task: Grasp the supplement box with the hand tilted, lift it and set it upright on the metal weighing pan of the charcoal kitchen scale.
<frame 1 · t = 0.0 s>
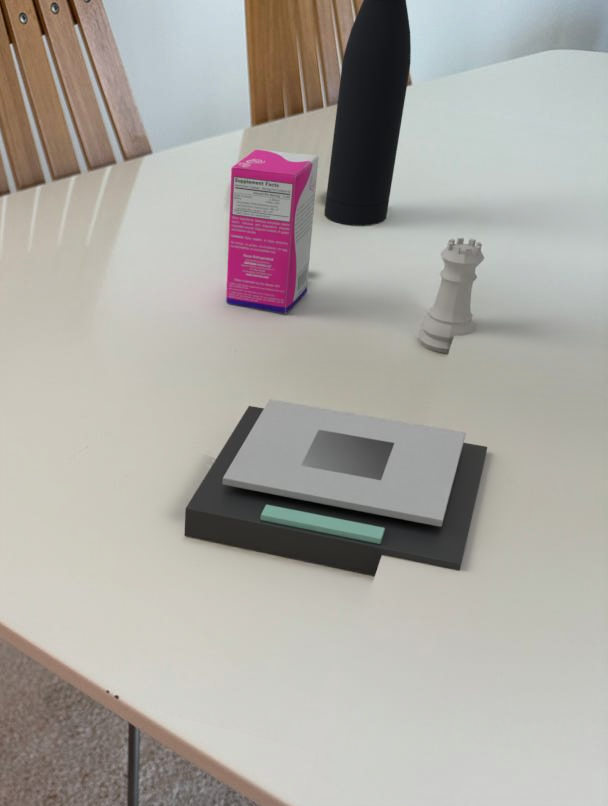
supplement box: (265, 300, 92), on the table
kitchen scale: (338, 503, 66), on the table
rook chess piece: (443, 345, 85), on the table
wine bottle: (354, 217, 109), on the table
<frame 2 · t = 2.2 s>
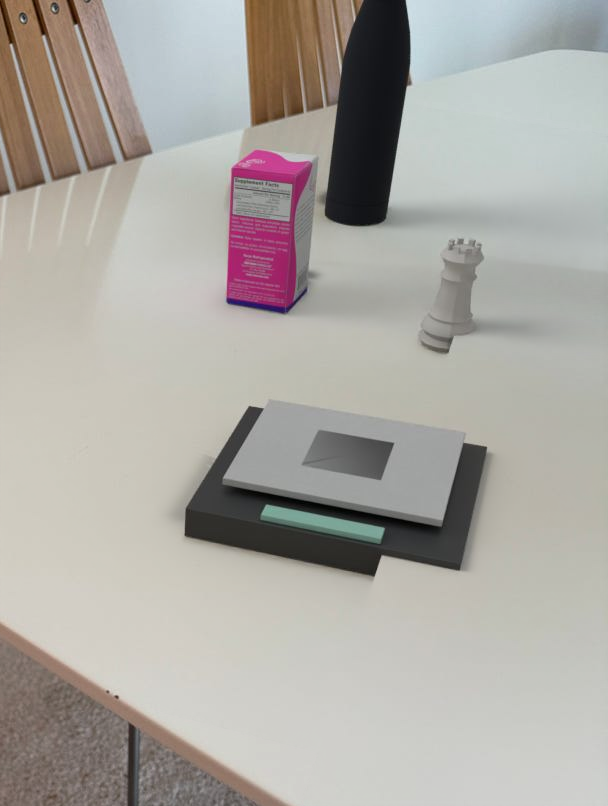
nothing on the table moved.
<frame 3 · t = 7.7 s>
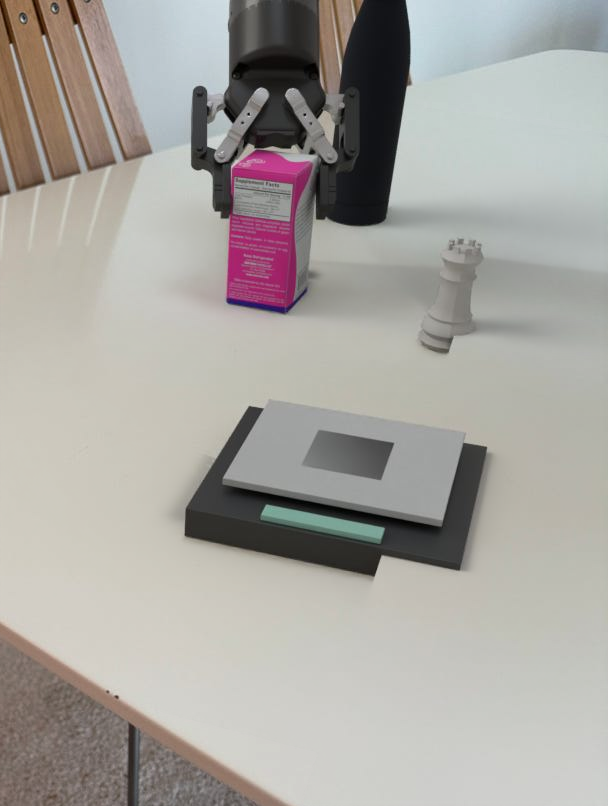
hand: (274, 214, 86), 8 cm above the table, tool tilted 45°, fingers closed on supplement box, 7 cm apart
supplement box: (265, 300, 92), on the table, touching gripper
everything else where it was.
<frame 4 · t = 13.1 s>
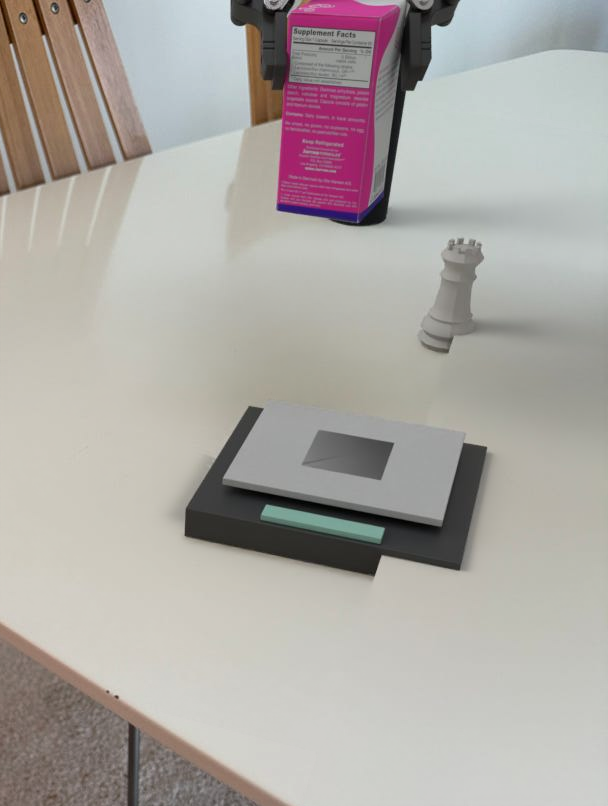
hand: (345, 82, 63), 21 cm above the table, tool tilted 45°, fingers closed on supplement box, 7 cm apart
supplement box: (328, 208, 69), point 13 cm above the table, touching gripper
everything else where it was.
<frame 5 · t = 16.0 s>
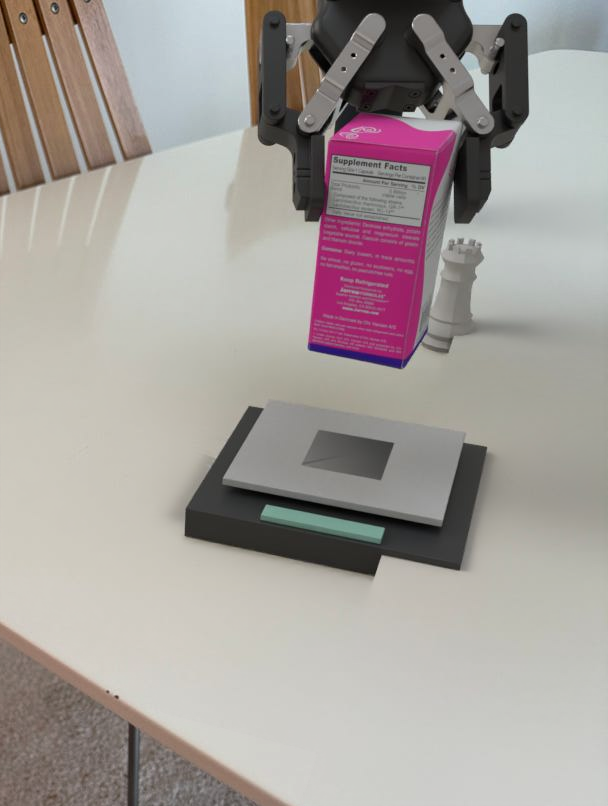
hand: (391, 215, 54), 18 cm above the table, tool tilted 45°, fingers closed on supplement box, 7 cm apart
supplement box: (365, 345, 60), point 10 cm above the table, touching gripper
everything else where it was.
when the fingers open (11 cm above the table, at t = 18.6 s): supplement box stays where it is, resting on kitchen scale.
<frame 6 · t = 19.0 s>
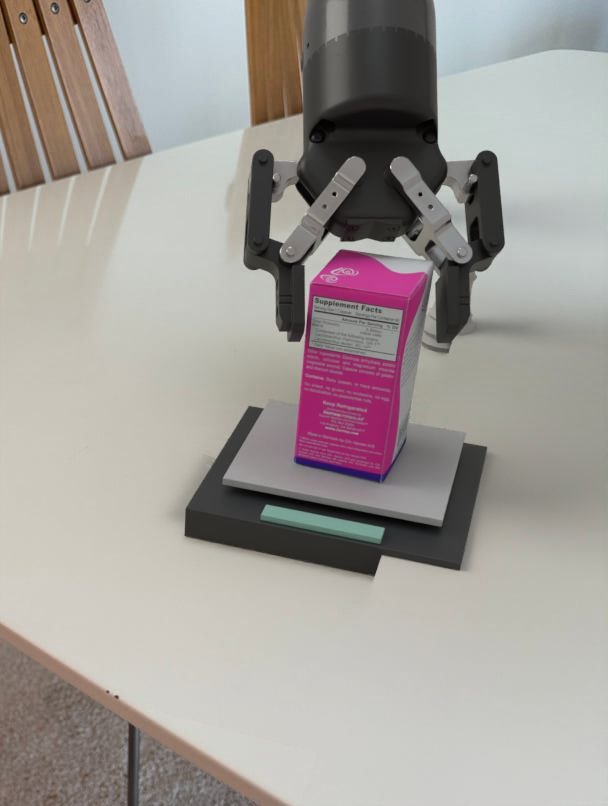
hand: (372, 337, 59), 11 cm above the table, tool tilted 45°, fingers open, 8 cm apart
supplement box: (348, 455, 65), point 3 cm above the table, touching kitchen scale
everything else where it was.
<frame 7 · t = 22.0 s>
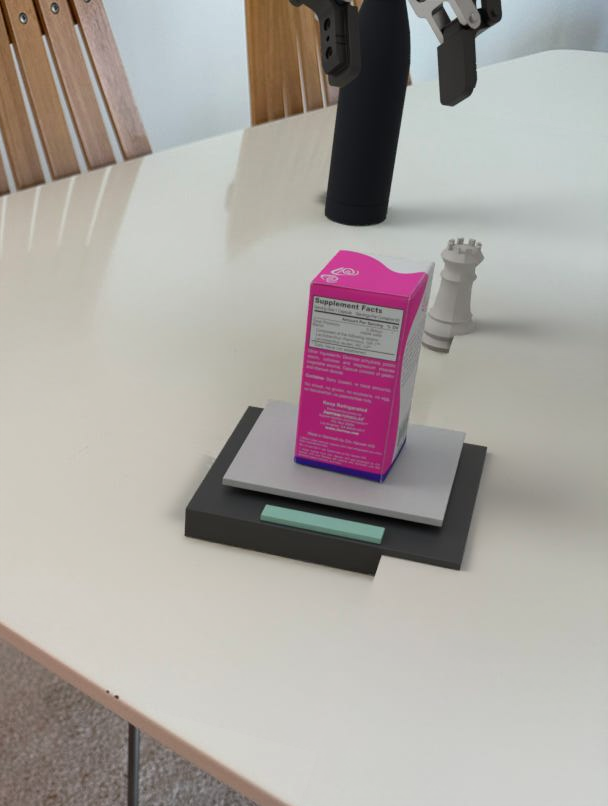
hand: (403, 91, 62), 21 cm above the table, tool tilted 35°, fingers open, 8 cm apart
nothing on the table moved.
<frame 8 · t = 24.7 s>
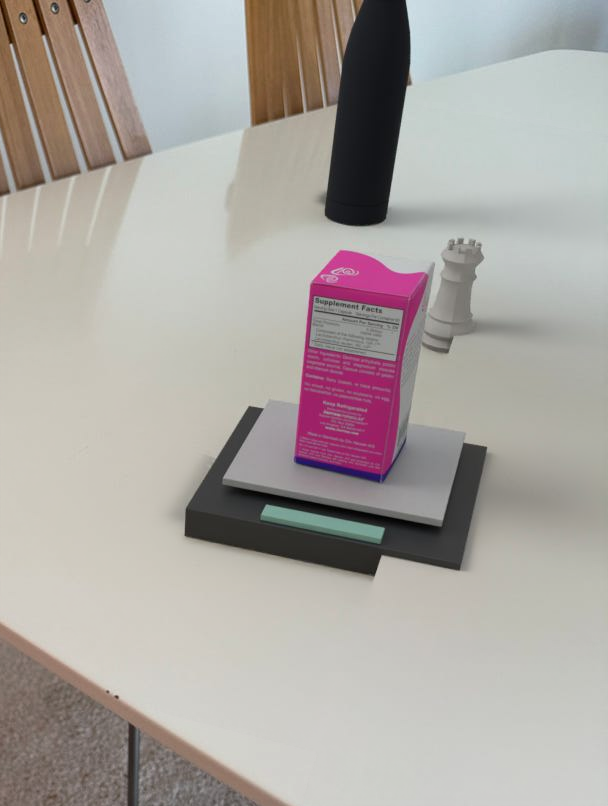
nothing on the table moved.
at the end: supplement box inside the target area on the kitchen scale (0.1 cm from its centre), point 2.8 cm above the kitchen scale's base; supplement box tilted 0°; the gripper is holding nothing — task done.
